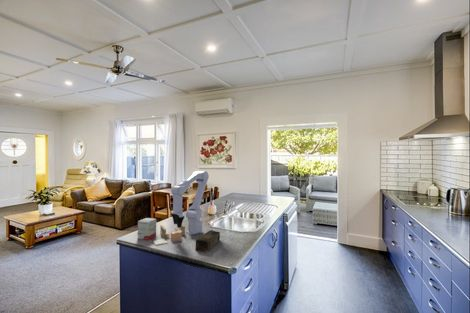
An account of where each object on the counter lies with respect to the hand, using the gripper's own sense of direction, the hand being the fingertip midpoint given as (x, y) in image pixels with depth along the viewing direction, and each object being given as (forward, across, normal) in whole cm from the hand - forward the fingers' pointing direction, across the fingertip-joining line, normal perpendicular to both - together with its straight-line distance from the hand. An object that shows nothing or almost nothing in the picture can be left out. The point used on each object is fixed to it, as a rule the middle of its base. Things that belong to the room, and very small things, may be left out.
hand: (177, 225), depth 144 cm
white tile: (+9, -1, -10) cm, 14 cm away
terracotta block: (+9, -1, 0) cm, 9 cm away
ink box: (+10, -14, -16) cm, 23 cm away
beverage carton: (+10, +17, +14) cm, 24 cm away
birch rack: (+9, -11, 0) cm, 14 cm away
